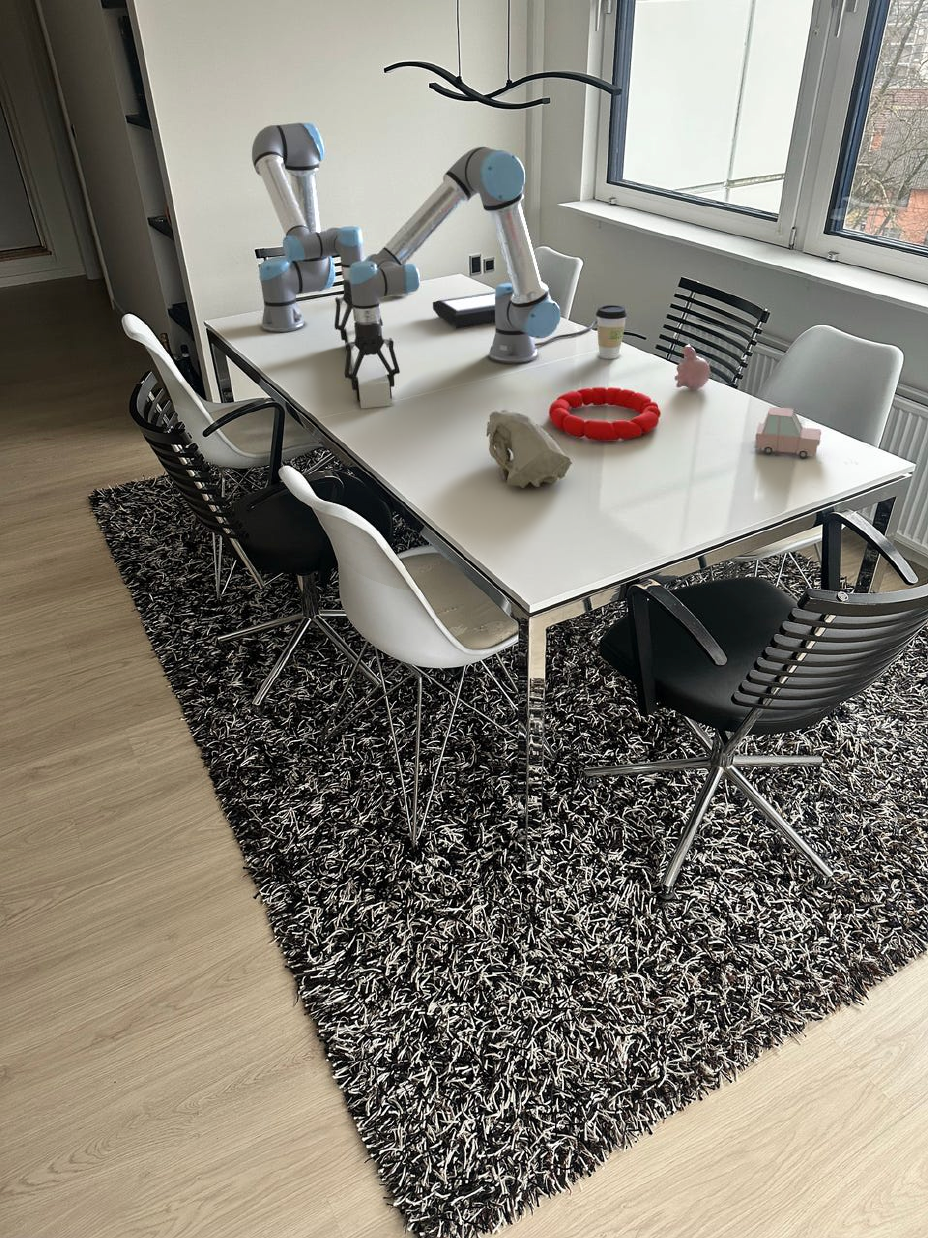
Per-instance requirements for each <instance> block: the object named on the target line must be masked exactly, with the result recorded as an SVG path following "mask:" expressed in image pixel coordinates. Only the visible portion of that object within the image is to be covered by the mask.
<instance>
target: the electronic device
mask: <svg viewBox="0 0 928 1238" xmlns="http://www.w3.org/2000/svg"><path fill="white" fill-rule="evenodd" d="M494 297H495V291H493V292H485V293H479V294H472V295H465V296H459V297H451V298H445V299H439V300H436V301H433V302H432V310H433V311H434V313H435V314H436V316H437V317H438V318H439V319H441V320H442V321H444V322H446V323H447V324H449V325H451V326H452V327H454V328H455V329H456V330H459V329H467V328H473V327H479V326H484V325H485V326H486V325H491V324H495V298H494Z"/></svg>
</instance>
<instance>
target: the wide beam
mask: <svg viewBox="0 0 928 1238" xmlns="http://www.w3.org/2000/svg"><path fill="white" fill-rule="evenodd" d="M345 329H346V332H347V342H354V340H355V327H354V323H351V324H346V326H345ZM358 353H359V349H358V348H357V347H356V346H354V347H353V350H351V362H350V366H351V368H352V370H353V367H354V364H355V361H356V359H357V356H358ZM387 374H388V373H387V370H386V368H385V366H384V364H383V363H382V361H381V359H380V358H379V356H378V355H377V354H376V355H372V354H370V355H364V358H363V359H362V362H361V365H360V367H359V370H358V373H357V375H356V377H357V378H358V385H359V395H360V402H359V403H360V408H361V409H372V408H382V407H391V406H392V401H391V400H392V399H391V398H390V385H389V380H388V377H387Z"/></svg>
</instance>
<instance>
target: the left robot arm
mask: <svg viewBox="0 0 928 1238" xmlns="http://www.w3.org/2000/svg"><path fill="white" fill-rule="evenodd" d="M324 158H325V147H324V142H323V139H322V136H321V134H320V131H319V129H318V127H316V125H315V124H313V123H311V122H294V123H285V124H283V123H282V124H276V125H275V124H273V125H267V126H265V127H264V128H262V129H261V130H260V131H259V132H258V133H257V135H256V136H255V138H254V139H253V143H252V147H251V161H252V165H253V167H254V170H255V172H256V174H257V175H258V176H260V177H261V179H262V181H263V184H264V186H265V189H266V191H267V193H268V196H269V198H270V201H271V204H272V206H273V208H274V211H275V213H276V215H277V218H278V220H279V223H280V225H281V227H282V228H281V229H282V230H283V232H284V234H285V236H283V239H282V249H283V251H284V255H281V256H275V257H271V258H268V259H265V260H263V261H262V262H261V263H260V265H259V266H258V270H259V271H258V273H259V280H260V287H261V292H262V299H263V313H262V319H261V326H262V330H264V331H265V332H271V333H286V332H293V331H296V330H297V331H298V330H300V329H302V328H304V326H305V319H304V317H303V314H302V312H301V310H300V307H299V306H298V305H299V304H298V303H297V295H303V294H309V293H315V292H322V291H327V290H330V289H331V288H332V287H333V285H334V283H335V279H336V267H335V264H334V263H335V262H334V259H333V257H332V256H339V257H340V267H341V276H342V277H341V278H342V279H343V281H342V284H343V285H342V287H343V296H342V297H338V296H337V297H335V298H334V300H335V305H336V306H335V316H334V329H335V330H338V331H340V338H341V341H344V346H345V348H346V345H345V343H346V342H347V332H346V329H345V326H346V325H347V323H348V320H349V318H350V314H351V312H352V311H353V304H352V295H351V286H350V274H349V272H350V266H351V265H352V264H353V263H355V262H360V261H365V254H364V253H365V252H364V238H363V233H362V229H361V228H360V227H359V226H353V225H351V226H349V225H348V226H343V227H330V228H328V229H326V230H324V231H322V227H321V217H320V206H319V205H320V204H319V196H318V195H319V194H318V185H317V175H316V174H317V172H318V171H319V169H320V162H322V161H324ZM285 171H286V172H287V173H288V174H289V175H290V176H289V177H290V182H289V179H288V177H287V174H286V172H285ZM343 302H344V303H345V304H346V305H347V306H346V307H345V308H346V309H345V311H344V315H343V316H342V317H343V318H342V320H341V323H340V317H341V307H342V306H341V305H343ZM380 317H381V315H380ZM380 322H381V327H382V326H383V325H384V323H383V320H382V317H381V319H380ZM346 351H347V350H346V349H345V352H346Z"/></svg>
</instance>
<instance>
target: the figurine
mask: <svg viewBox="0 0 928 1238" xmlns="http://www.w3.org/2000/svg"><path fill="white" fill-rule="evenodd" d="M682 354H683V358H684V359H683V361H682V362H679V363H678V364H677V365H676V372H677V375H675V376H674V381H675V382H676V381H677V382H676V384H675V386H676V388H681V387H686V388H688V389H693V390H694V389H695V390H696V389H700V388H703V387H704V386H705V385H706V384H707V383H708V382H709V379H710V377H711V367H710V364H709V362H708V361H706V359H704V358H702V357H700V356H697V353H696V350H695V349H694V347H692V345H690V344H686V345H685V346H684V347H683V348H682Z"/></svg>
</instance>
